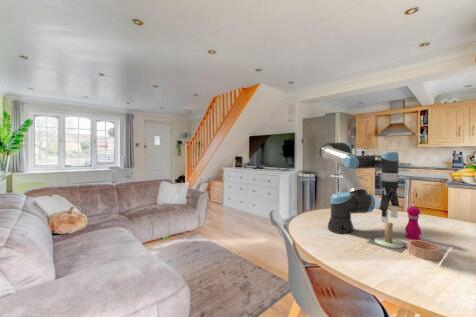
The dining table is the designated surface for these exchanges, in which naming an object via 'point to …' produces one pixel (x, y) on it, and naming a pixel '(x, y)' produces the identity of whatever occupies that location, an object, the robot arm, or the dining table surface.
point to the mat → (387, 247)
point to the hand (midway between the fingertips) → (389, 220)
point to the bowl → (424, 249)
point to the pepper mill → (413, 223)
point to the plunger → (388, 238)
